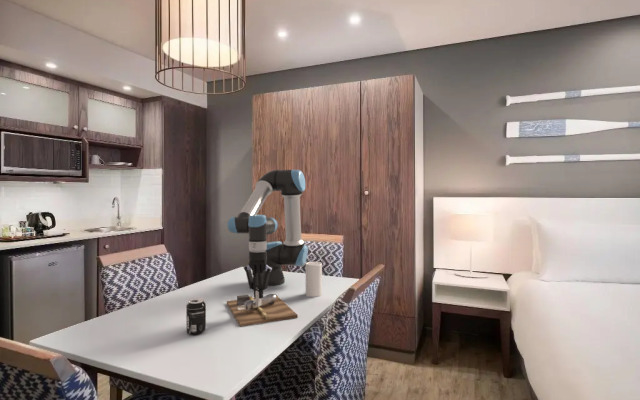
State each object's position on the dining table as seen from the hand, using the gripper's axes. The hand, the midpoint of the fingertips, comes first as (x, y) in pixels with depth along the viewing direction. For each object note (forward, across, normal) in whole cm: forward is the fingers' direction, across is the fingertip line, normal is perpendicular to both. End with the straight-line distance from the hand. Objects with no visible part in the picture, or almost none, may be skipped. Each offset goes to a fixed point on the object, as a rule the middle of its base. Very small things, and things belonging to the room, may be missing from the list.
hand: (258, 305), depth 150 cm
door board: (+4, -2, +4) cm, 6 cm away
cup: (+4, +13, +34) cm, 37 cm away
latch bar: (+1, -1, +5) cm, 5 cm away
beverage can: (+4, -12, -25) cm, 28 cm away
